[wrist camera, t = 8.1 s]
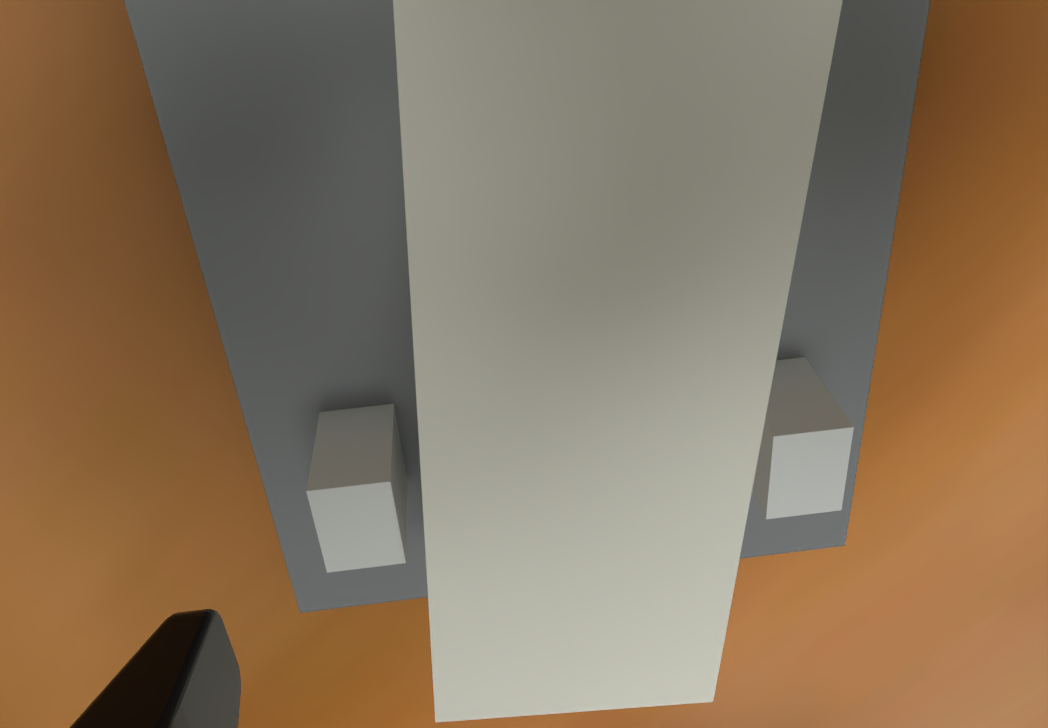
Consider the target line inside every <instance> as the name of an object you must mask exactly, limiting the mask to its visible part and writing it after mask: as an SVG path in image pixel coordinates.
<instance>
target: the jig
mask: <svg viewBox="0 0 1048 728" xmlns="http://www.w3.org/2000/svg"><path fill="white" fill-rule="evenodd" d="M124 2H125V6H126V9H127V13H128V16H129V20H130V23H131V26H132V30H133V33H134V37H135V40H136V44H137V47H138V51H139V54H140V58H141V61H142V65H143V68H144V72H145V75H146V79H147V82H148V86H149V89H150V93H151V96H152V100H153V103H154V107H155V110H156V113H157V117H158V120H159V124H160V127H161V131H162V134H163V138H164V141H165V145H166V148H167V152H168V155H169V159H170V162H171V166H172V169H173V173H174V176H175V180H176V183H177V187H178V190H179V194H180V197H181V200H182V204H183V207H184V211H185V214H186V218H187V221H188V225H189V228H190V232H191V235H192V239H193V242H194V246H195V249H196V253H197V256H198V260H199V263H200V267H201V270H202V274H203V277H204V281H205V284H206V287H207V291H208V294H209V298H210V301H211V305H212V308H213V312H214V315H215V319H216V322H217V326H218V329H219V333H220V336H221V340H222V343H223V347H224V350H225V354H226V357H227V361H228V364H229V368H230V371H231V374H232V378H233V381H234V385H235V388H236V392H237V395H238V399H239V402H240V406H241V409H242V413H243V416H244V420H245V423H246V427H247V430H248V434H249V437H250V441H251V444H252V448H253V451H254V455H255V458H256V461H257V465H258V468H259V472H260V475H261V479H262V482H263V486H264V489H265V493H266V496H267V500H268V503H269V507H270V510H271V514H272V517H273V521H274V524H275V528H276V531H277V535H278V538H279V542H280V545H281V548H282V552H283V555H284V559H285V562H286V566H287V569H288V573H289V576H290V580H291V583H292V587H293V590H294V594H295V597H296V601H297V604H298V608H299V611H300V613H302V612H310V611H318V610H326V609H334V608H342V607H350V606H359V605H367V604H375V603H383V602H391V601H399V600H407V599H415V598H423V597H428V588H427V571H426V554H425V537H424V520H423V503H422V486H421V469H420V452H419V435H418V418H417V401H416V384H415V367H414V350H413V333H412V316H411V299H410V282H409V265H408V248H407V231H406V214H405V197H404V180H403V163H402V146H401V129H400V112H399V95H398V78H397V61H396V44H395V27H394V10H393V0H124ZM929 3H930V0H843V2H842V7H841V12H840V18H839V23H838V29H837V34H836V39H835V45H834V50H833V56H832V61H831V66H830V72H829V77H828V83H827V88H826V93H825V99H824V104H823V110H822V115H821V120H820V126H819V131H818V137H817V142H816V147H815V153H814V158H813V164H812V169H811V175H810V180H809V185H808V191H807V196H806V202H805V207H804V212H803V218H802V223H801V229H800V234H799V239H798V245H797V250H796V256H795V261H794V266H793V272H792V277H791V283H790V288H789V293H788V299H787V304H786V310H785V315H784V320H783V326H782V331H781V337H780V342H779V347H778V353H777V358H776V364H775V369H774V374H773V380H772V385H771V391H770V396H769V401H768V407H767V412H766V418H765V423H764V429H763V434H762V439H761V445H760V450H759V456H758V461H757V466H756V472H755V477H754V483H753V488H752V493H751V499H750V504H749V510H748V515H747V520H746V526H745V531H744V537H743V542H742V547H741V553H740V558H748V557H756V556H764V555H773V554H781V553H789V552H797V551H805V550H813V549H821V548H829V547H838V546H845V541H846V535H847V528H848V522H849V516H850V509H851V503H852V496H853V490H854V484H855V477H856V471H857V464H858V458H859V452H860V445H861V439H862V432H863V426H864V420H865V413H866V407H867V400H868V394H869V388H870V381H871V375H872V368H873V362H874V355H875V349H876V343H877V336H878V330H879V323H880V317H881V311H882V304H883V298H884V291H885V285H886V279H887V272H888V266H889V259H890V253H891V247H892V240H893V234H894V227H895V221H896V215H897V208H898V202H899V195H900V189H901V183H902V176H903V170H904V163H905V157H906V151H907V144H908V138H909V131H910V125H911V119H912V112H913V106H914V99H915V93H916V87H917V80H918V74H919V67H920V61H921V55H922V48H923V42H924V35H925V29H926V23H927V16H928V10H929ZM740 558H739V559H740Z"/></svg>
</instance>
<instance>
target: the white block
mask: <svg viewBox="0 0 1048 728" xmlns="http://www.w3.org/2000/svg"><path fill="white" fill-rule="evenodd" d="M842 2H843V0H393V10H394V27H395V44H396V61H397V78H398V95H399V112H400V129H401V146H402V163H403V180H404V197H405V214H406V231H407V248H408V265H409V282H410V299H411V316H412V333H413V350H414V367H415V384H416V401H417V418H418V435H419V452H420V469H421V486H422V503H423V520H424V537H425V554H426V571H427V588H428V605H429V622H430V639H431V656H432V673H433V690H434V707H435V722H448V721H461V720H474V719H488V718H501V717H515V716H528V715H542V714H555V713H569V712H582V711H595V710H609V709H622V708H636V707H649V706H663V705H676V704H690V703H703V702H713V699H714V693H715V688H716V683H717V677H718V672H719V666H720V661H721V656H722V650H723V645H724V639H725V634H726V628H727V623H728V618H729V612H730V607H731V601H732V596H733V591H734V585H735V580H736V574H737V569H738V564H739V558H740V553H741V547H742V542H743V537H744V531H745V526H746V520H747V515H748V510H749V504H750V499H751V493H752V488H753V483H754V477H755V472H756V466H757V461H758V456H759V450H760V445H761V439H762V434H763V429H764V423H765V418H766V412H767V407H768V401H769V396H770V391H771V385H772V380H773V374H774V369H775V364H776V358H777V353H778V347H779V342H780V337H781V331H782V326H783V320H784V315H785V310H786V304H787V299H788V293H789V288H790V283H791V277H792V272H793V266H794V261H795V256H796V250H797V245H798V239H799V234H800V229H801V223H802V218H803V212H804V207H805V202H806V196H807V191H808V185H809V180H810V175H811V169H812V164H813V158H814V153H815V147H816V142H817V137H818V131H819V126H820V120H821V115H822V110H823V104H824V99H825V93H826V88H827V83H828V77H829V72H830V66H831V61H832V56H833V50H834V45H835V39H836V34H837V29H838V23H839V18H840V12H841V7H842Z"/></svg>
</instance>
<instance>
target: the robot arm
mask: <svg viewBox="0 0 1048 728" xmlns="http://www.w3.org/2000/svg"><path fill="white" fill-rule="evenodd" d="M240 694H241V678H240V671H239V666H238V663H237V660H236V657H235V654H234V652H233V649H232V646H231V643H230V640H229V637H228V635H227V632H226V629H225V626H224V623H223V621H222V618H221V616H220V615H219V614H218V612H217V611H215V610H212V609H205V610H196V611H188V612H180V613H175V614H173V615H171V616H170V617H168V618H167V619H166V620H165V621H164V622H163V623H162V624H161V625H160V627H159V628H158V629H157V630H156V631H155V632H154V633H153V634H152V636H151V637H150V638H149V639H148V640H147V641H146V642H145V643H144V645H143V646H142V647H141V648H140V649H139V650H138V651H137V653H136V654H135V655H134V656H133V657H132V658H131V659H130V660H129V662H128V663H127V664H126V665H125V666H124V667H123V668H122V669H121V671H120V672H119V673H118V674H117V675H116V676H115V677H114V678H113V680H112V681H111V682H110V683H109V684H108V685H107V686H106V687H105V689H104V690H103V691H102V692H101V693H100V694H99V695H98V696H97V698H96V699H95V700H94V701H93V702H92V703H91V704H90V705H89V707H88V708H87V709H86V710H85V711H84V712H83V713H82V714H81V716H80V717H79V718H78V719H77V720H76V721H75V722H74V723H73V725H72V726H71V727H70V728H238V719H239V707H240Z"/></svg>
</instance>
